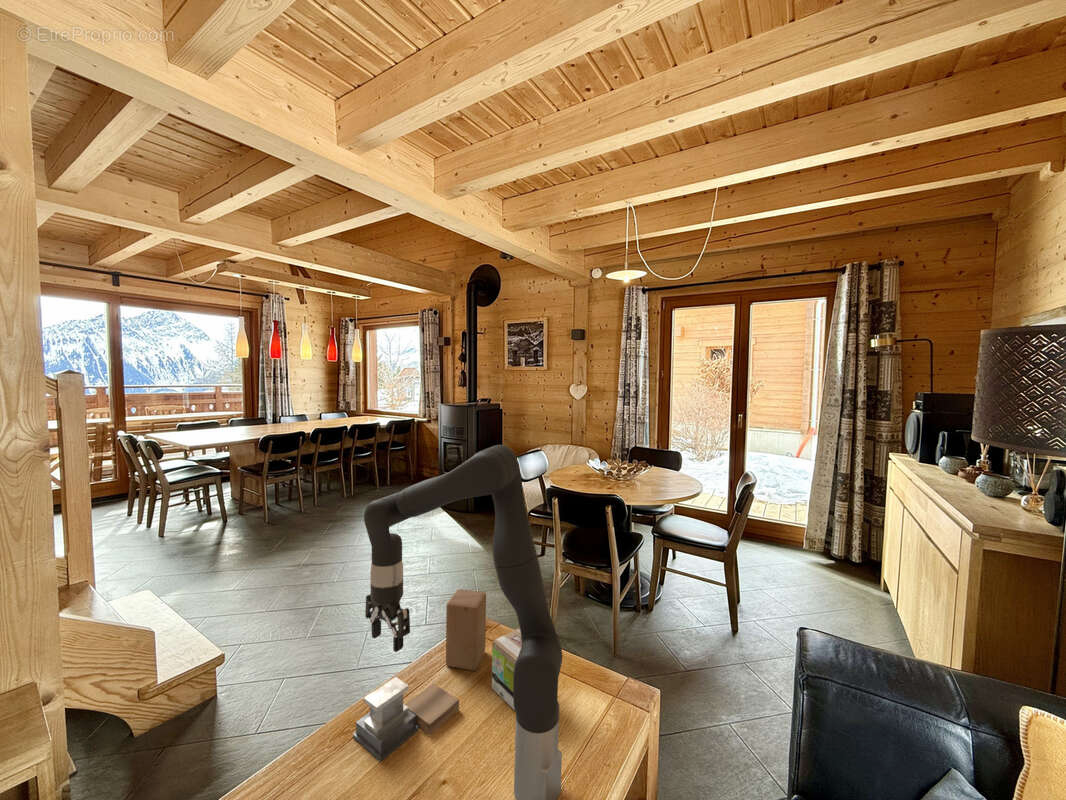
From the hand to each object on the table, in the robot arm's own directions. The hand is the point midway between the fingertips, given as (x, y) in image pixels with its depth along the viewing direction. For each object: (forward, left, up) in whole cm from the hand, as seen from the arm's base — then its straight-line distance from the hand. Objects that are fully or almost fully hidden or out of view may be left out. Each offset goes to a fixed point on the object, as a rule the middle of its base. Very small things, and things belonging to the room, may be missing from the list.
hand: (387, 643), depth 105 cm
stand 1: (0, 0, -23) cm, 23 cm away
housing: (0, 0, -19) cm, 19 cm away
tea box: (-19, -30, -24) cm, 42 cm away
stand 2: (-4, -11, -23) cm, 26 cm away
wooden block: (+4, -32, -24) cm, 40 cm away
